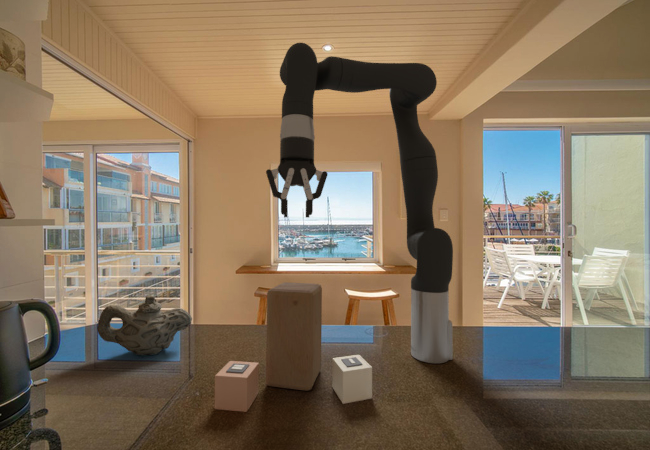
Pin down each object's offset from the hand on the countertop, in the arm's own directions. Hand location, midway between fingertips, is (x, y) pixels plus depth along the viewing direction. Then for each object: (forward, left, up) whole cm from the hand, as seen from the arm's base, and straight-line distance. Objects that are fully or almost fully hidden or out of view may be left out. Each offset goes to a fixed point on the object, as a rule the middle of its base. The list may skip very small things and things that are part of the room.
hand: (296, 216), depth 64 cm
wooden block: (0, 0, -35) cm, 35 cm away
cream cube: (-11, +7, -35) cm, 38 cm away
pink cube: (+11, +7, -35) cm, 38 cm away
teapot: (+38, -18, -36) cm, 55 cm away
